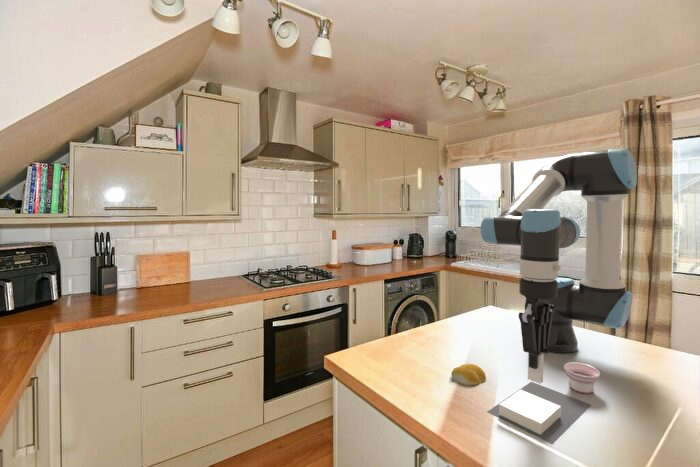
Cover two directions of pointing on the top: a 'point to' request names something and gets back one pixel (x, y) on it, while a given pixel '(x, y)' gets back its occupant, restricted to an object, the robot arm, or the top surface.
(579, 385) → the teacup
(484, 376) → the bread roll
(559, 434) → the mat
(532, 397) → the tile
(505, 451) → the top surface
